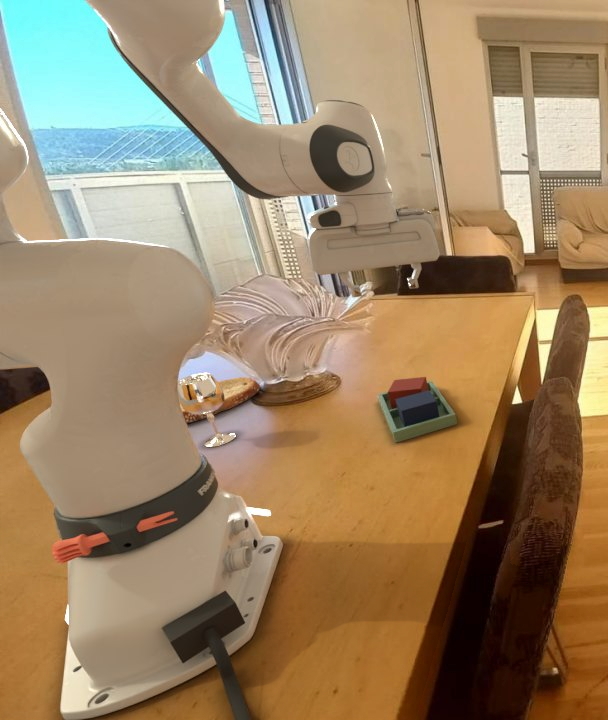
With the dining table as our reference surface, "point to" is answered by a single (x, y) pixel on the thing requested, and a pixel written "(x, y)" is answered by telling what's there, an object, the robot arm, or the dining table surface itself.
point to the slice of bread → (229, 396)
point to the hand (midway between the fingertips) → (386, 291)
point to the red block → (406, 388)
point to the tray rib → (395, 412)
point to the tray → (418, 429)
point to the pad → (417, 408)
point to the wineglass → (203, 402)
